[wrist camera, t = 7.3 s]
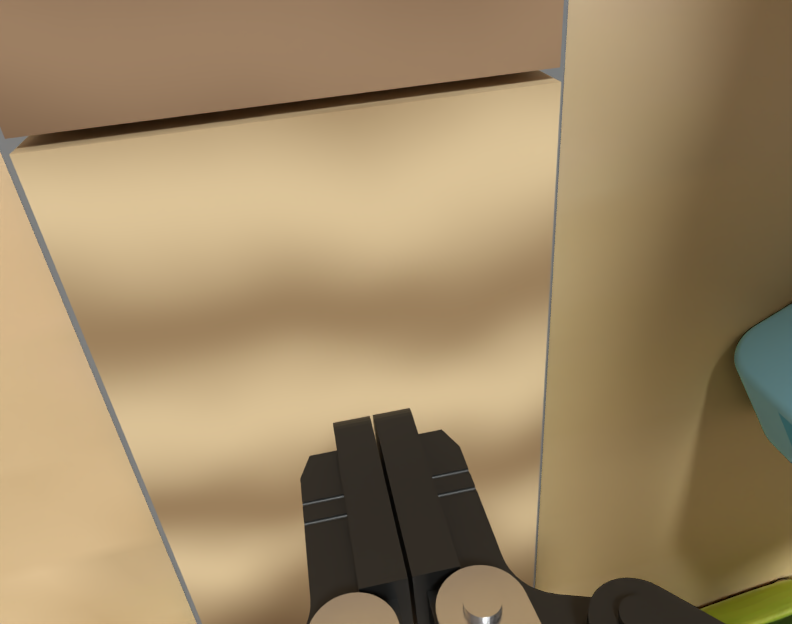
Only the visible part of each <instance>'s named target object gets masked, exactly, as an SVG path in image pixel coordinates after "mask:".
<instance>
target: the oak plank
mask: <svg viewBox="0 0 792 624" xmlns="http://www.w3.org/2000/svg"><path fill="white" fill-rule="evenodd" d="M560 96H561V82H560V81H558V80H557V79H555V78H553V77H551V76H549V75H547V74H545V73H543V72H541V71H539V70H536V71H528V72H521V73H513V74H505V75H497V76H489V77H482V78H474V79H466V80H458V81H451V82H443V83H435V84H427V85H420V86H412V87H404V88H396V89H389V90H381V91H373V92H365V93H357V94H350V95H342V96H334V97H326V98H319V99H311V100H303V101H295V102H288V103H280V104H272V105H264V106H257V107H249V108H241V109H233V110H225V111H218V112H210V113H202V114H194V115H187V116H179V117H171V118H163V119H156V120H148V121H140V122H132V123H125V124H117V125H109V126H101V127H93V128H86V129H78V130H70V131H62V132H55V133H47V134H39V135H31V136H28V137H27V138H26V139H25V140H24V141H23V142H22V143H21V144H20V145H19V146H18V147H17V148H16V149H15V150H14V151H13V152H11V153H10V154H9V155H10V158H11V160H12V162H13V165H14V167H15V170H16V172H17V175H18V177H19V179H20V182H21V184H22V187H23V189H24V192H25V194H26V196H27V199H28V201H29V204H30V206H31V209H32V211H33V214H34V216H35V218H36V221H37V223H38V226H39V228H40V231H41V233H42V235H43V238H44V240H45V243H46V245H47V248H48V250H49V252H50V255H51V257H52V260H53V262H54V265H55V267H56V269H57V272H58V274H59V277H60V279H61V282H62V284H63V286H64V289H65V291H66V294H67V296H68V299H69V301H70V304H71V306H72V308H73V311H74V313H75V316H76V318H77V321H78V323H79V325H80V328H81V330H82V333H83V335H84V338H85V340H86V342H87V345H88V347H89V350H90V352H91V355H92V357H93V359H94V362H95V364H96V367H97V369H98V372H99V374H100V376H101V379H102V381H103V384H104V386H105V389H106V391H107V393H108V396H109V398H110V401H111V403H112V406H113V408H114V411H115V413H116V415H117V418H118V420H119V423H120V425H121V428H122V430H123V432H124V435H125V437H126V440H127V442H128V445H129V447H130V449H131V452H132V454H133V457H134V459H135V462H136V464H137V466H138V469H139V471H140V474H141V476H142V479H143V481H144V483H145V486H146V488H147V491H148V493H149V496H150V498H151V501H152V503H153V505H154V508H155V510H156V513H157V515H158V518H159V520H160V522H161V525H162V527H163V530H164V532H165V535H166V537H167V539H168V542H169V544H170V547H171V549H172V552H173V554H174V556H175V559H176V561H177V564H178V566H179V569H180V571H181V573H182V576H183V578H184V581H185V583H186V586H187V588H188V591H189V593H190V595H191V598H192V600H193V603H194V605H195V608H196V610H197V612H198V615H199V617H200V620H201V622H202V624H307V620H308V617H309V613H310V590H309V578H308V566H307V554H306V542H305V530H304V527H305V526H304V518H303V504H302V494H301V482H300V478H301V476H302V473H303V471H304V468H305V466H306V463H307V461H308V459H309V456H311V455H316V454H321V453H326V452H331V451H336V450H337V448H336V441H335V435H334V428H333V423H335V422H340V421H345V420H350V419H355V418H361V417H366V416H370V418H371V422H372V427H373V431H374V424H373V415H375V414H380V413H386V412H391V411H396V410H401V409H406V408H410V410H411V412H412V415H413V418H414V422H415V425H416V428H417V431H418V434H421V433H426V432H431V431H436V430H441V429H442V430H443V431H444V432H445V433H446V434H447V435H448V436H449V437H450V438H451V439H453V440H454V441H455V442H456V443H457V444H458V445H459V446H460V448H461V451H462V453H463V456H464V458H465V461H466V464H467V466H468V470H469V473H470V474H471V477H472V479H473V482H474V484H475V488H476V491H477V492H478V495H479V497H480V500H481V502H482V505H483V507H484V510H485V513H486V515H487V518H488V520H489V523H490V526H491V528H492V531H493V533H494V536H495V538H496V541H497V544H498V546H499V549H500V551H501V554H502V556H503V559H504V561H505V563H506V564H507V566H508V567H509V569H510V570H511V571H512V572H513V573H514V574H515V575H516V576H517V577H518V578H519V579H520V580H522V581H523V582H524V583H526V584H528V585H529V586H531V587H533V579H534V561H535V543H536V525H537V507H538V489H539V471H540V453H541V436H542V418H543V400H544V382H545V364H546V346H547V328H548V310H549V292H550V274H551V257H552V239H553V221H554V203H555V185H556V167H557V149H558V131H559V113H560ZM374 435H375V431H374ZM375 439H376V438H375Z"/></svg>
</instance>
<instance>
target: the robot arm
mask: <svg viewBox="0 0 792 624" xmlns="http://www.w3.org/2000/svg"><path fill="white" fill-rule="evenodd" d="M373 424H374V431H375V435H374V431H373V427H372V422H371V418H370V416H366V417H361V418H355V419H350V420H345V421H340V422H335V423H333V428H334V435H335V441H336V448H337V450H336V451H331V452H326V453H321V454H316V455H311V456H309V459H308V461H307V463H306V466H305V468H304V471H303V473H302V476H301V478H300V482H301V494H302V504H303V518H304V526H305V527H304V530H305V542H306V554H307V566H308V578H309V590H310V613H309V617H308V620H307V624H725V623H723V622H722V621H720V620H718V619H716V618H714V617H713V616H711V615H709V614H707V613H706V612H704V611H702V610H700V609H698V608H697V607H695V606H693V605H691V604H689V603H688V602H686V601H684V600H682V599H681V598H679V597H677V596H675V595H673V594H672V593H670V592H668V591H666V590H664V589H663V588H661V587H659V586H657V585H655V584H653V583H651V582H648V581H645V580H641V579H636V578H619V579H615V580H611V581H609V582H607V583H605V584H603V585H602V586H601V587H599V588H598V589H597V590H596V591H595V593H594V594H593V596H592V597H582V596H571V595H560V594H553V593H547V592H544V591H540V590H538V589H535V588H533V587H531V586H529V585H528V584H526V583H524V582H523V581H522V580H520V579H519V578H518V577H517V576H516V575H515V574H514V573H513V572H512V571H511V570H510V569H509V567H508V566H507V564H506V563H505V561H504V559H503V556H502V554H501V551H500V549H499V546H498V544H497V541H496V538H495V536H494V533H493V531H492V528H491V526H490V523H489V520H488V518H487V515H486V513H485V510H484V507H483V505H482V502H481V500H480V497H479V495H478V492H477V491H476V488H475V484H474V482H473V479H472V477H471V474H470V473H469V470H468V466H467V464H466V461H465V458H464V456H463V453H462V451H461V448H460V446H459V445H458V444H457V443H456V442H455V441H454V440H453V439H451V438H450V437H449V436H448V435H447V434H446V433H445V432H444V431H443V430H442V429H441V430H436V431H431V432H426V433H421V434H418V431H417V428H416V425H415V422H414V418H413V415H412V412H411V410H410V408H406V409H401V410H396V411H391V412H386V413H380V414H375V415H373ZM375 438H376V439H375Z"/></svg>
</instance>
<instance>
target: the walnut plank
mask: <svg viewBox="0 0 792 624" xmlns="http://www.w3.org/2000/svg"><path fill="white" fill-rule="evenodd" d="M563 6H564V0H0V128H1V130H2V133H3V135H4V138H5V139H8V138H16V137H24V136H31V135H39V134H47V133H55V132H62V131H70V130H78V129H86V128H93V127H101V126H109V125H117V124H125V123H132V122H140V121H148V120H156V119H163V118H171V117H179V116H187V115H194V114H202V113H210V112H218V111H225V110H233V109H241V108H249V107H257V106H264V105H272V104H280V103H288V102H295V101H303V100H311V99H319V98H326V97H334V96H342V95H350V94H357V93H365V92H373V91H381V90H389V89H396V88H404V87H412V86H420V85H427V84H435V83H443V82H451V81H458V80H466V79H474V78H482V77H489V76H497V75H505V74H513V73H521V72H528V71H536V70H544V69H552V68H559V67H560V62H561V44H562V25H563Z"/></svg>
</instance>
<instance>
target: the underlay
mask: <svg viewBox="0 0 792 624" xmlns="http://www.w3.org/2000/svg"><path fill="white" fill-rule="evenodd" d="M567 17H568V0H564V6H563V25H562V44H561V62H560V67H559V68H552V69H544V70H539V71H541V72H543V73H545V74H547V75H549V76H551V77H553V78H555V79H557V80H558V81H560V82H561V96H560V113H559V131H558V149H557V167H556V185H555V203H554V221H553V239H552V257H551V274H550V292H549V310H548V328H547V346H546V364H545V382H544V400H543V418H542V436H541V453H540V471H539V489H538V507H537V525H536V543H535V561H534V579H533V588H535V576H536V559H537V541H538V524H539V507H540V489H541V472H542V454H543V437H544V419H545V402H546V384H547V367H548V349H549V332H550V314H551V297H552V279H553V262H554V244H555V227H556V209H557V192H558V174H559V157H560V140H561V122H562V105H563V87H564V70H565V52H566V35H567ZM27 137H28V136H24V137H16V138H8V139H5V138H4V135H3V133H2V130H1V128H0V152H1V154H2V157H3V159H4V162H5V164H6V166H7V169H8V171H9V174H10V176H11V178H12V181H13V183H14V186H15V188H16V190H17V193H18V195H19V198H20V200H21V202H22V205H23V207H24V210H25V212H26V214H27V217H28V219H29V222H30V224H31V226H32V229H33V231H34V234H35V236H36V238H37V241H38V243H39V246H40V248H41V250H42V253H43V255H44V258H45V260H46V262H47V265H48V267H49V270H50V272H51V274H52V277H53V279H54V282H55V284H56V286H57V289H58V291H59V294H60V296H61V298H62V301H63V303H64V306H65V308H66V310H67V313H68V315H69V318H70V320H71V322H72V325H73V327H74V330H75V332H76V334H77V337H78V339H79V342H80V344H81V346H82V349H83V351H84V353H85V356H86V358H87V361H88V363H89V365H90V368H91V370H92V373H93V375H94V377H95V380H96V382H97V385H98V387H99V389H100V392H101V394H102V397H103V399H104V401H105V404H106V406H107V409H108V411H109V413H110V416H111V418H112V421H113V423H114V425H115V428H116V430H117V433H118V435H119V437H120V440H121V442H122V445H123V447H124V449H125V452H126V454H127V457H128V459H129V461H130V464H131V466H132V469H133V471H134V473H135V476H136V478H137V481H138V483H139V485H140V488H141V490H142V493H143V495H144V497H145V500H146V502H147V505H148V507H149V509H150V512H151V514H152V517H153V519H154V521H155V524H156V526H157V529H158V531H159V533H160V536H161V538H162V541H163V543H164V545H165V548H166V550H167V553H168V555H169V557H170V560H171V562H172V565H173V567H174V569H175V572H176V574H177V577H178V579H179V581H180V584H181V586H182V589H183V591H184V593H185V596H186V598H187V601H188V603H189V605H190V608H191V610H192V613H193V615H194V617H195V620H196V622H197V624H202V622H201V620H200V617H199V615H198V612H197V610H196V608H195V605H194V603H193V600H192V598H191V595H190V593H189V591H188V588H187V586H186V583H185V581H184V578H183V576H182V573H181V571H180V569H179V566H178V564H177V561H176V559H175V556H174V554H173V552H172V549H171V547H170V544H169V542H168V539H167V537H166V535H165V532H164V530H163V527H162V525H161V522H160V520H159V518H158V515H157V513H156V510H155V508H154V505H153V503H152V501H151V498H150V496H149V493H148V491H147V488H146V486H145V483H144V481H143V479H142V476H141V474H140V471H139V469H138V466H137V464H136V462H135V459H134V457H133V454H132V452H131V449H130V447H129V445H128V442H127V440H126V437H125V435H124V432H123V430H122V428H121V425H120V423H119V420H118V418H117V415H116V413H115V411H114V408H113V406H112V403H111V401H110V398H109V396H108V393H107V391H106V389H105V386H104V384H103V381H102V379H101V376H100V374H99V372H98V369H97V367H96V364H95V362H94V359H93V357H92V355H91V352H90V350H89V347H88V345H87V342H86V340H85V338H84V335H83V333H82V330H81V328H80V325H79V323H78V321H77V318H76V316H75V313H74V311H73V308H72V306H71V304H70V301H69V299H68V296H67V294H66V291H65V289H64V286H63V284H62V282H61V279H60V277H59V274H58V272H57V269H56V267H55V265H54V262H53V260H52V257H51V255H50V252H49V250H48V248H47V245H46V243H45V240H44V238H43V235H42V233H41V231H40V228H39V226H38V223H37V221H36V218H35V216H34V214H33V211H32V209H31V206H30V204H29V201H28V199H27V196H26V194H25V192H24V189H23V187H22V184H21V182H20V179H19V177H18V175H17V172H16V170H15V167H14V165H13V162H12V160H11V158H10V155H9V154H10V153H11V152H13V151H14V150H15V149H16V148H17V147H18V146H19V145H20V144H21V143H22V142H23V141H24V140H25V139H26V138H27Z"/></svg>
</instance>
